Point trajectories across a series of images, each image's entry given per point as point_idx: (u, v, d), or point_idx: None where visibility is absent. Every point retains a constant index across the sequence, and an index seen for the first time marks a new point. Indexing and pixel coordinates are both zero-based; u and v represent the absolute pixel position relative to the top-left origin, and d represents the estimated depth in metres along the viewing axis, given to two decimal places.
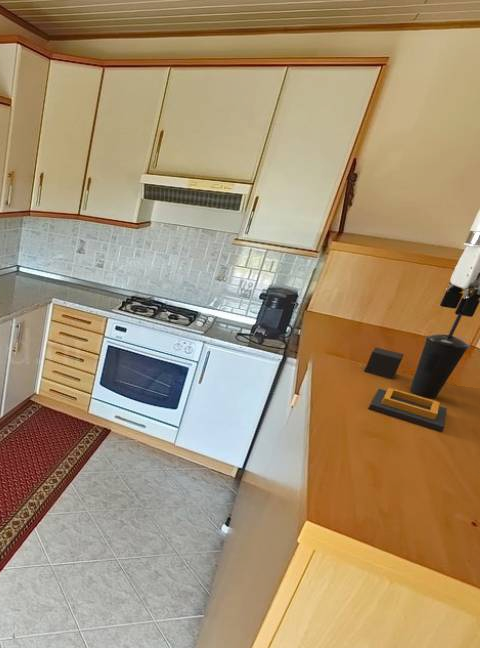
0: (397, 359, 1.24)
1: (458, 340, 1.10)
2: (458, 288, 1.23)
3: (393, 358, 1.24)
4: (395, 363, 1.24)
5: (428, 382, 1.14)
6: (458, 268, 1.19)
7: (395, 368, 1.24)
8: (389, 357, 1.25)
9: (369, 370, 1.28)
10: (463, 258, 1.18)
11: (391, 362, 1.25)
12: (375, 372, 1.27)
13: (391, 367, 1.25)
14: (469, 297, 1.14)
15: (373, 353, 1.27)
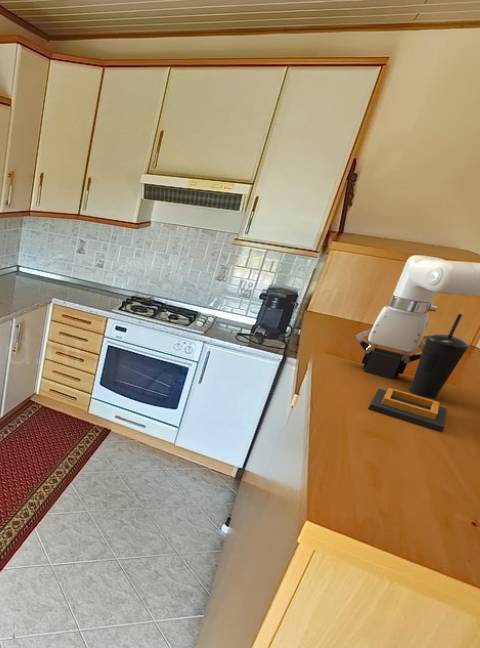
0: (397, 359, 1.24)
1: (458, 340, 1.10)
2: None
3: (393, 358, 1.24)
4: (395, 363, 1.24)
5: (428, 382, 1.14)
6: (388, 331, 1.24)
7: (395, 368, 1.24)
8: (389, 357, 1.25)
9: (369, 370, 1.28)
10: (394, 323, 1.23)
11: (391, 362, 1.25)
12: (375, 372, 1.27)
13: (391, 367, 1.25)
14: None
15: (373, 353, 1.27)
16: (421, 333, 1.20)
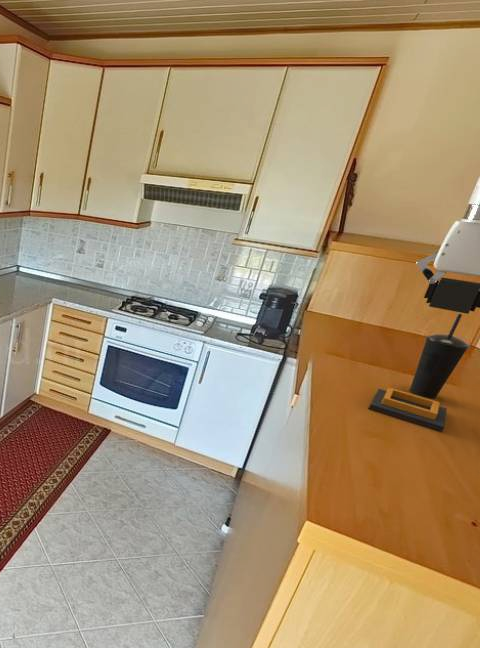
0: (475, 287, 0.95)
1: (458, 340, 1.10)
2: None
3: (469, 286, 0.96)
4: (472, 292, 0.95)
5: (428, 382, 1.14)
6: (462, 252, 0.96)
7: (472, 299, 0.96)
8: (464, 285, 0.96)
9: (436, 304, 0.99)
10: (471, 239, 0.95)
11: (466, 291, 0.96)
12: (444, 306, 0.99)
13: (466, 298, 0.96)
14: None
15: (441, 281, 0.98)
16: None
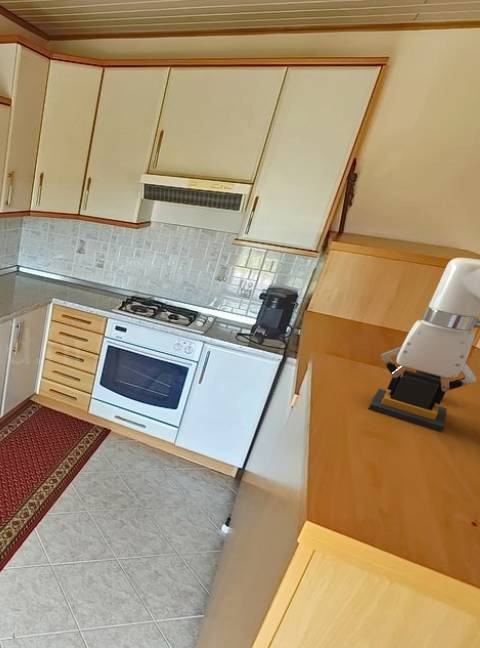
0: (434, 386, 1.00)
1: None
2: None
3: (428, 385, 1.00)
4: (431, 391, 1.00)
5: None
6: (422, 352, 1.01)
7: (431, 397, 1.00)
8: (423, 383, 1.01)
9: (398, 398, 1.04)
10: (430, 341, 0.99)
11: (426, 390, 1.01)
12: (405, 401, 1.03)
13: (426, 396, 1.01)
14: (449, 389, 1.00)
15: (403, 378, 1.03)
16: (465, 355, 0.97)
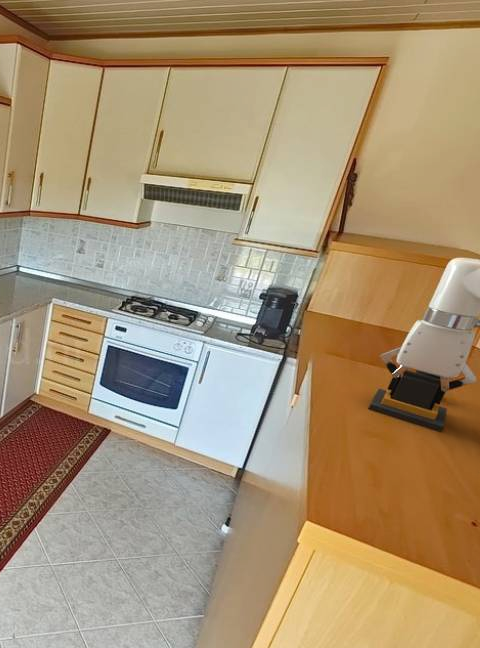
0: (434, 386, 1.00)
1: None
2: None
3: (429, 385, 1.00)
4: (431, 391, 1.00)
5: None
6: (422, 352, 1.01)
7: (431, 397, 1.00)
8: (423, 383, 1.01)
9: (398, 398, 1.04)
10: (430, 341, 0.99)
11: (426, 390, 1.01)
12: (405, 401, 1.03)
13: (426, 396, 1.01)
14: (448, 389, 1.00)
15: (403, 378, 1.03)
16: (465, 355, 0.97)
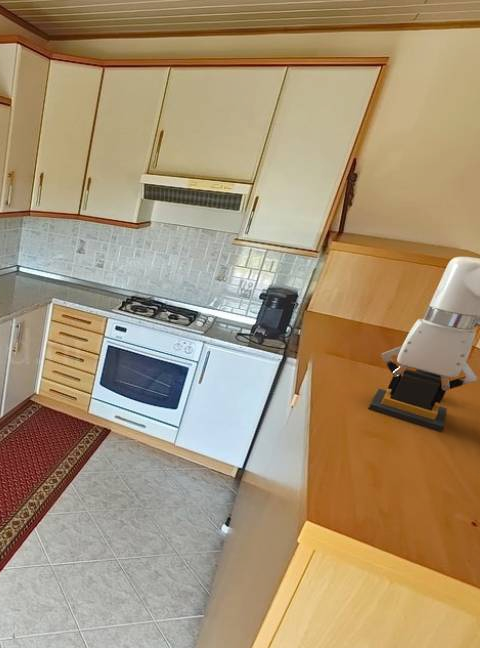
0: (434, 385, 1.00)
1: None
2: None
3: (429, 384, 1.00)
4: (432, 390, 1.00)
5: None
6: (423, 351, 1.01)
7: (431, 396, 1.00)
8: (424, 382, 1.01)
9: (398, 397, 1.04)
10: (431, 340, 0.99)
11: (426, 389, 1.01)
12: (406, 400, 1.03)
13: (426, 395, 1.01)
14: None
15: (404, 377, 1.03)
16: (466, 354, 0.96)
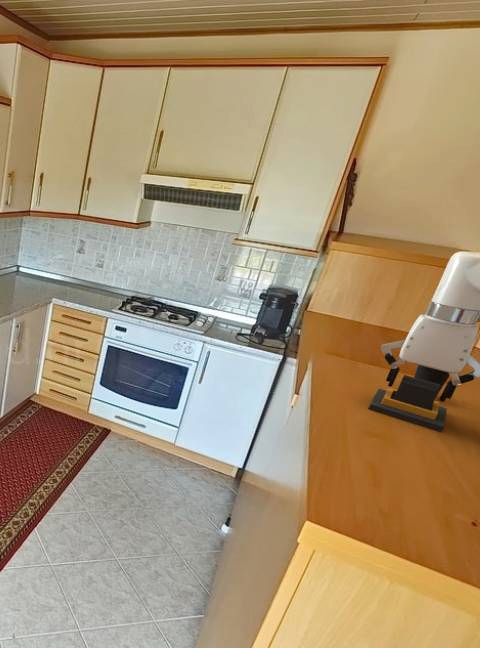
0: (433, 392, 1.00)
1: None
2: None
3: (428, 390, 1.00)
4: (430, 396, 1.00)
5: None
6: (425, 346, 1.00)
7: (430, 402, 1.01)
8: (423, 389, 1.01)
9: None
10: (434, 336, 0.99)
11: (425, 395, 1.01)
12: None
13: (425, 401, 1.01)
14: None
15: (402, 383, 1.03)
16: (468, 349, 0.96)
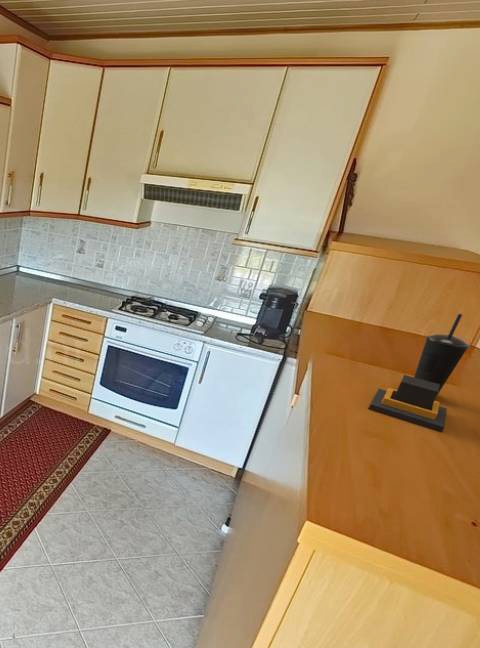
0: (433, 392, 1.00)
1: (458, 340, 1.10)
2: None
3: (428, 390, 1.00)
4: (430, 396, 1.00)
5: None
6: None
7: (430, 402, 1.01)
8: (423, 389, 1.01)
9: None
10: None
11: (425, 395, 1.01)
12: None
13: (425, 401, 1.01)
14: None
15: (402, 383, 1.03)
16: None
